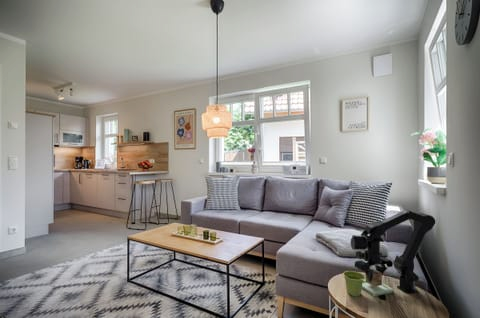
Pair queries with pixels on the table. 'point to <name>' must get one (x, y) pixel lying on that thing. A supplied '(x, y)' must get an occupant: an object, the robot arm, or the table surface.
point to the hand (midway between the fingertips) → (373, 280)
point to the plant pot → (353, 282)
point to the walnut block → (375, 278)
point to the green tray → (376, 289)
